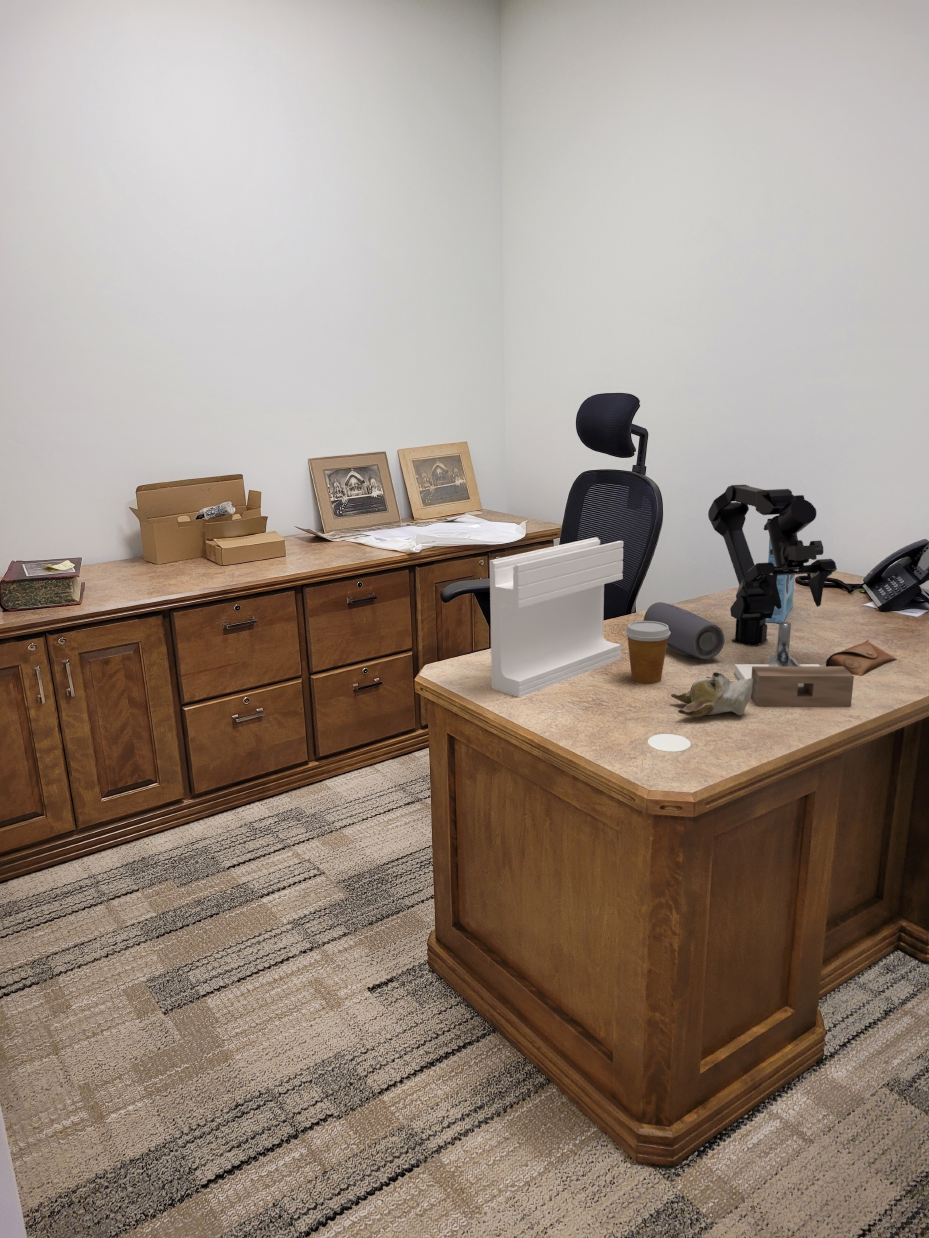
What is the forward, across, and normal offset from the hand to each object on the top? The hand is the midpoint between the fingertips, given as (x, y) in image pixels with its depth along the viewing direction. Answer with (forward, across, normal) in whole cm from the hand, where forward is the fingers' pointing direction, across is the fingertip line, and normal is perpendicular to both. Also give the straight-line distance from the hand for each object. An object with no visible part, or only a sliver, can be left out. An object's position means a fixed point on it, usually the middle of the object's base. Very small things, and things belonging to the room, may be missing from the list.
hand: (799, 607), depth 191 cm
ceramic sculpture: (+24, -29, -10) cm, 39 cm away
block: (+7, -52, +15) cm, 54 cm away
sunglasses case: (+13, +16, +7) cm, 22 cm away
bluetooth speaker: (+2, -19, +23) cm, 30 cm away
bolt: (+14, -7, -1) cm, 16 cm away
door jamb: (+22, -10, -9) cm, 25 cm away
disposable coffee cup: (+12, -34, +8) cm, 37 cm away
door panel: (+16, -7, +1) cm, 17 cm away
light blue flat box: (-11, +20, +44) cm, 50 cm away
